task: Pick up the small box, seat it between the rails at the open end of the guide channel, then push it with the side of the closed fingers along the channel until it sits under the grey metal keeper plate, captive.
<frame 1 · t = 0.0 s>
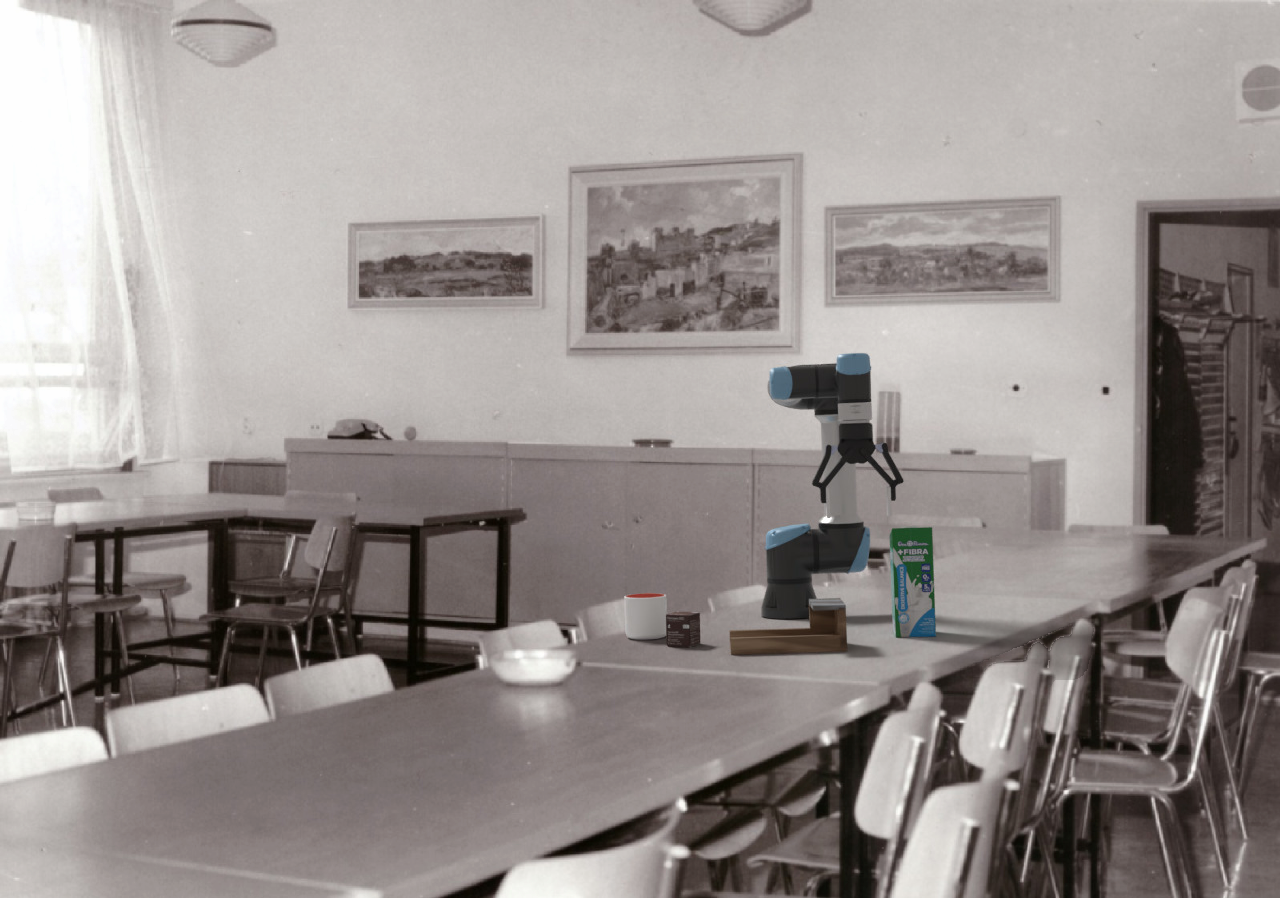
hand: (858, 517, 324), 28 cm above the table, fingers open, 13 cm apart
milk carton: (914, 635, 332), on the table
channel: (787, 648, 318), on the table
box: (683, 646, 329), on the table
cup: (646, 638, 343), on the table
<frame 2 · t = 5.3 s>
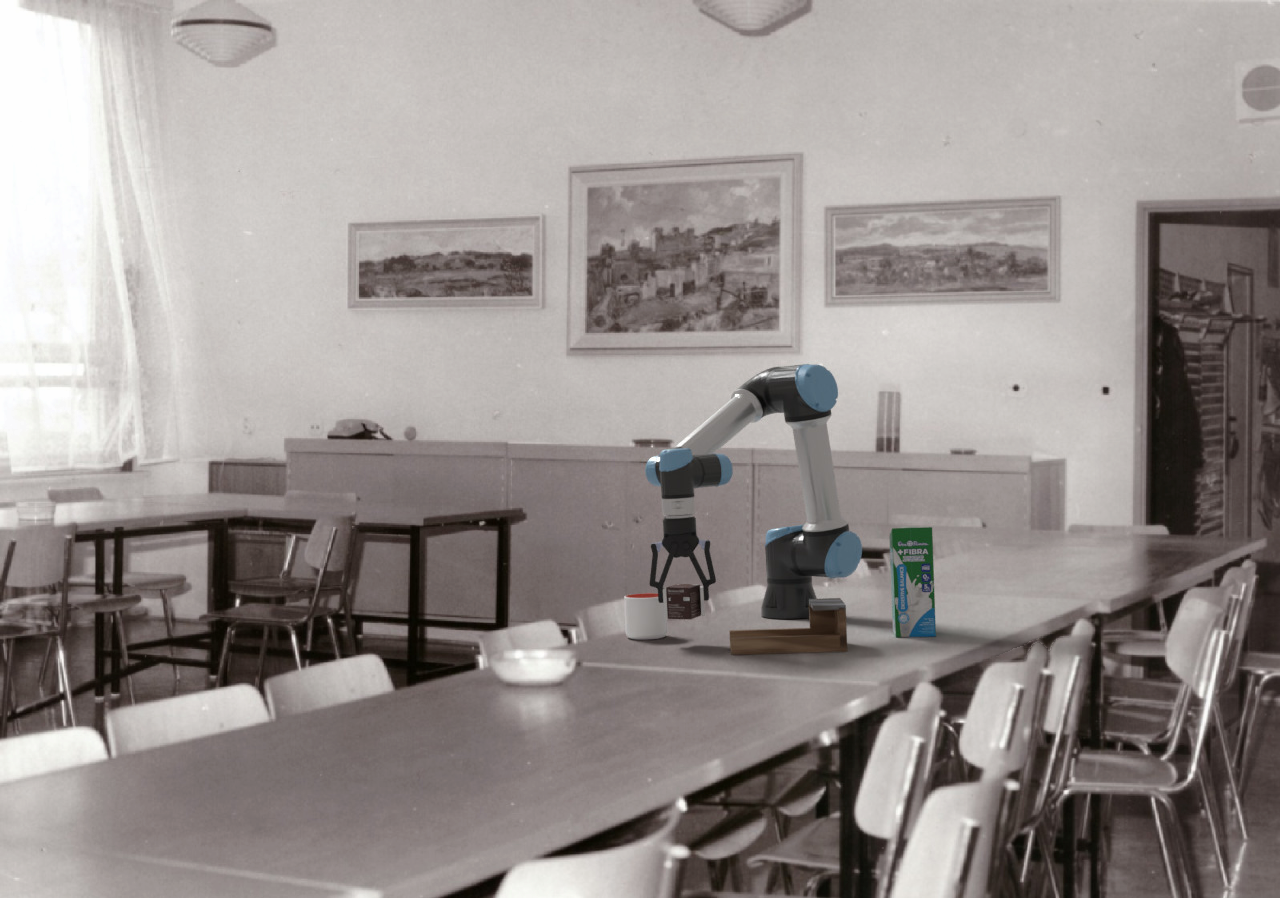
hand: (684, 615, 329), 7 cm above the table, fingers closed on box, 8 cm apart
box: (684, 618, 329), point 6 cm above the table, touching gripper
everything else where it was.
when the fingers open (2 cm above the table, at t = 8.8 s): box stays where it is, resting on channel.
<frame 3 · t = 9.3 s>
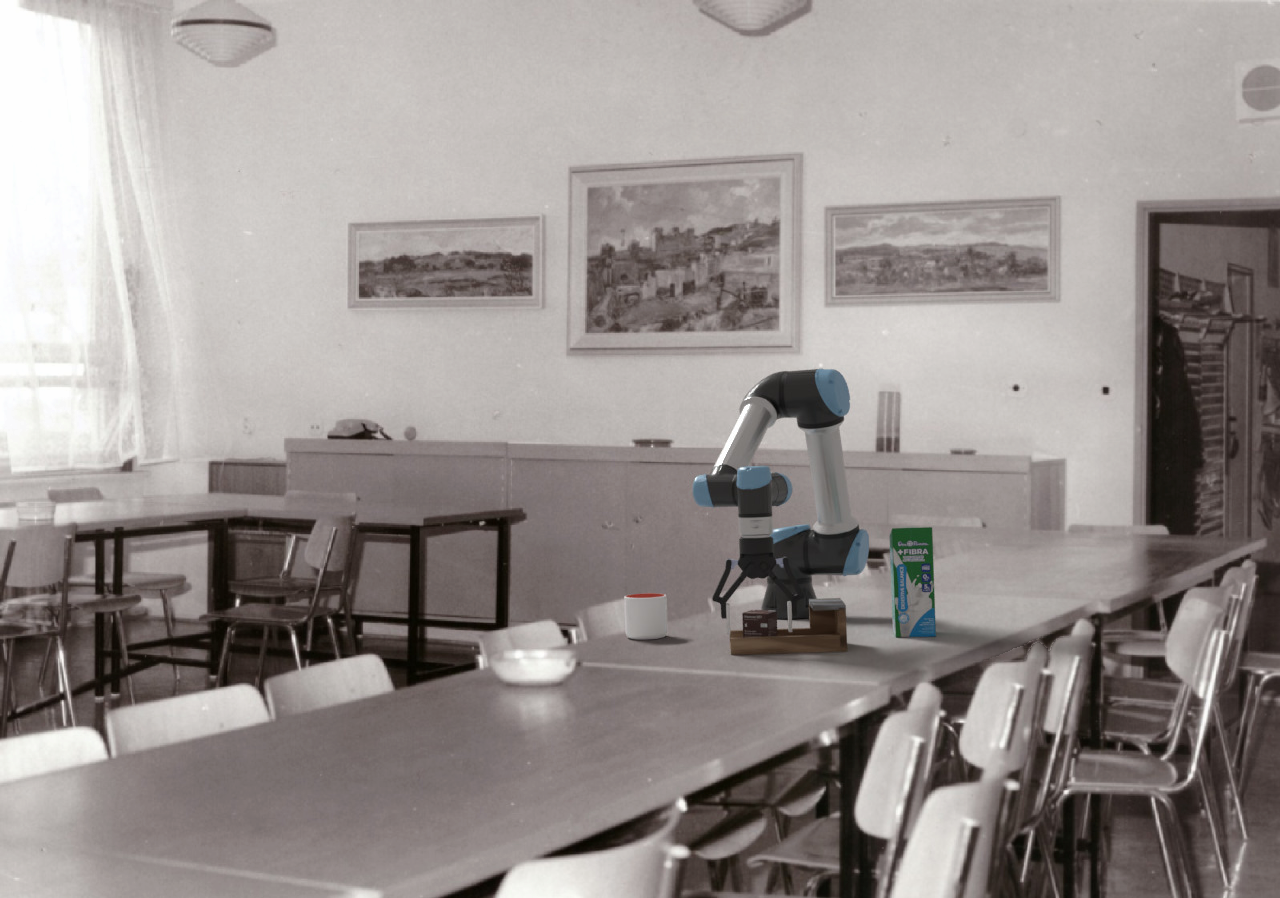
hand: (759, 632, 318), 4 cm above the table, fingers open, 13 cm apart
box: (760, 645, 318), point 1 cm above the table, touching channel
everything else where it was.
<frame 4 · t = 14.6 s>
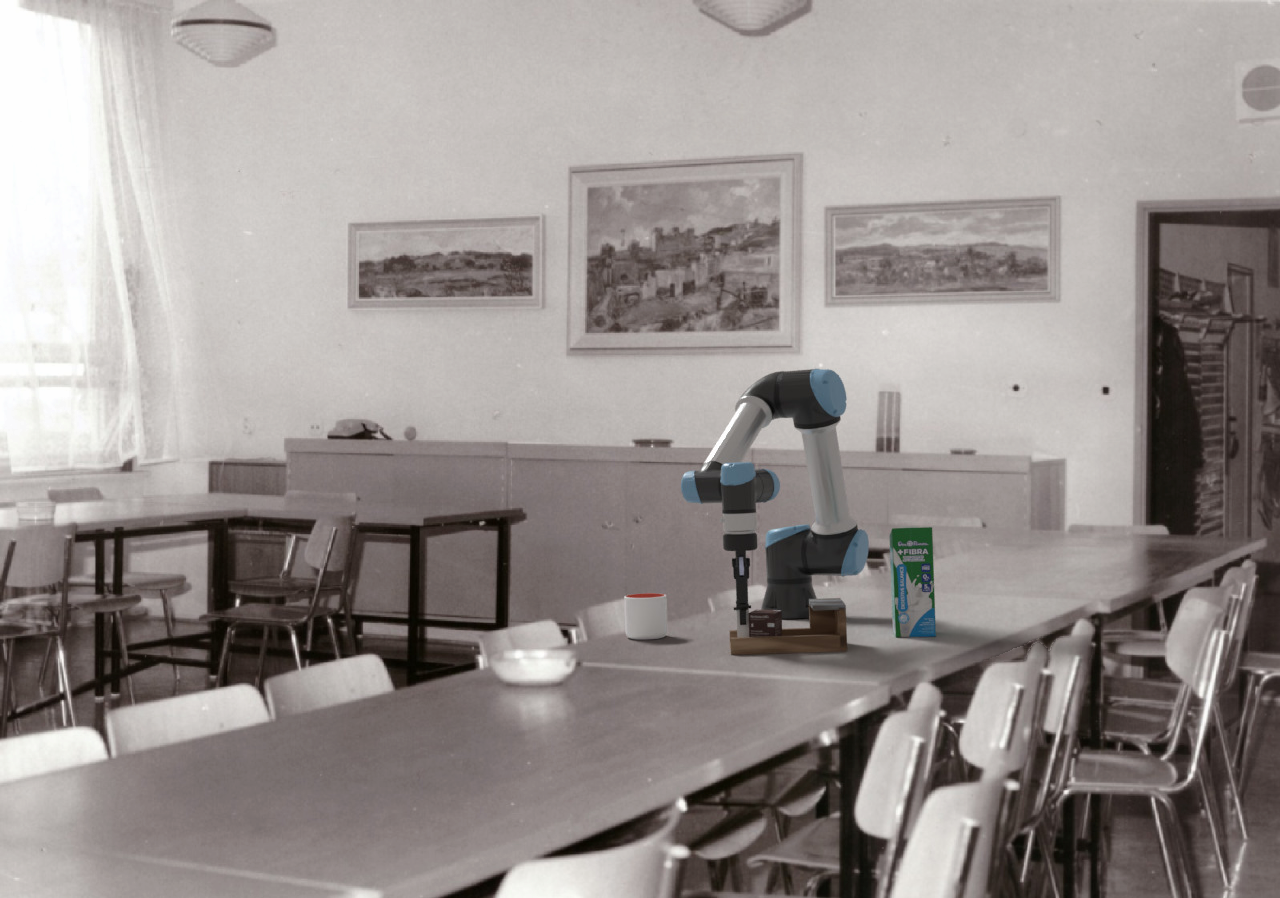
hand: (743, 638, 318), 2 cm above the table, fingers closed
box: (766, 645, 318), point 1 cm above the table, touching gripper
everything else where it was.
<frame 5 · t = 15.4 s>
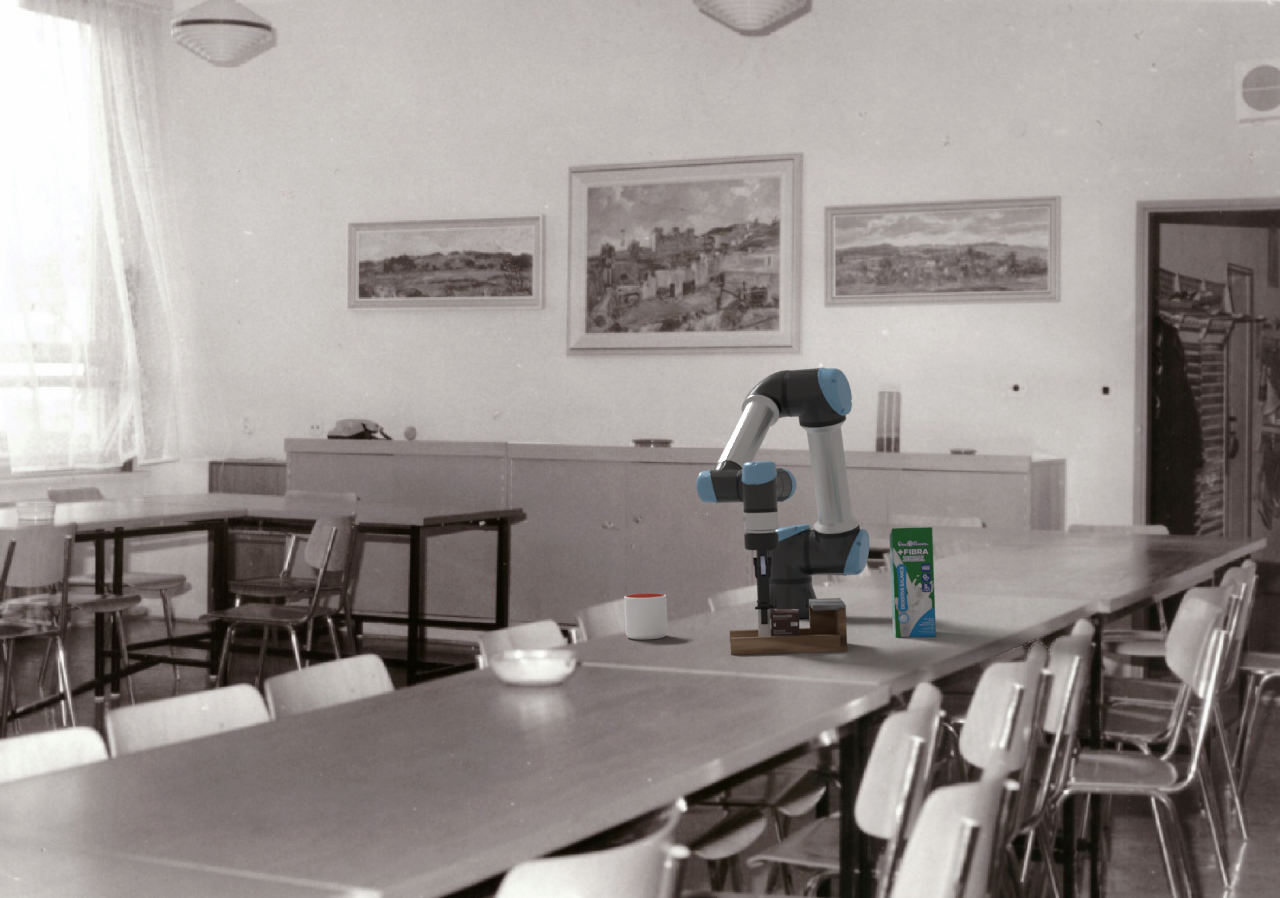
hand: (764, 638, 318), 2 cm above the table, fingers closed
box: (785, 644, 318), point 1 cm above the table, touching channel, gripper
everything else where it was.
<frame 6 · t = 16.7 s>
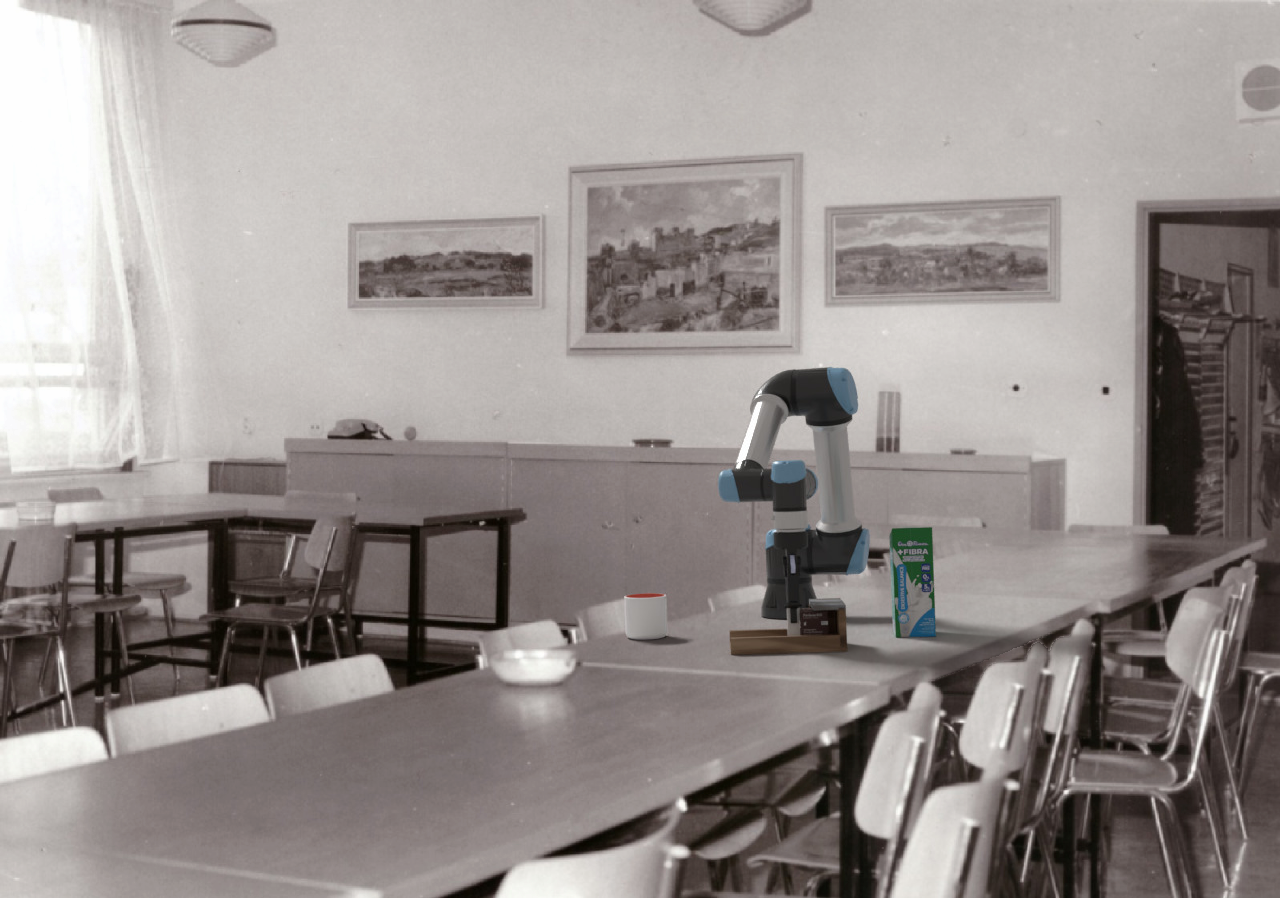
hand: (793, 637, 318), 2 cm above the table, fingers closed
box: (814, 643, 318), point 1 cm above the table, touching gripper
everything else where it was.
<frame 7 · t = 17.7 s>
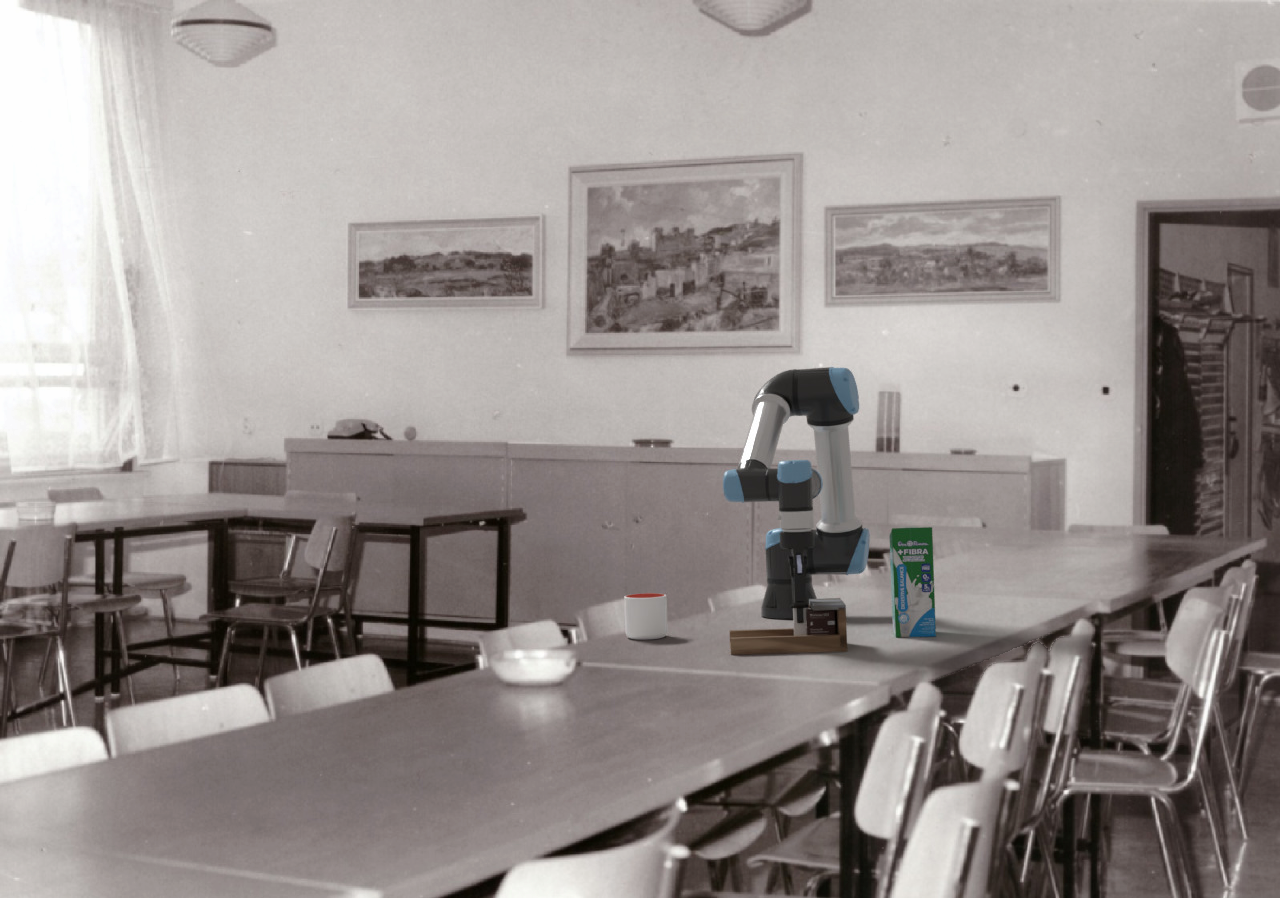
hand: (800, 637, 318), 2 cm above the table, fingers closed
box: (821, 643, 318), point 1 cm above the table, touching channel, gripper
everything else where it was.
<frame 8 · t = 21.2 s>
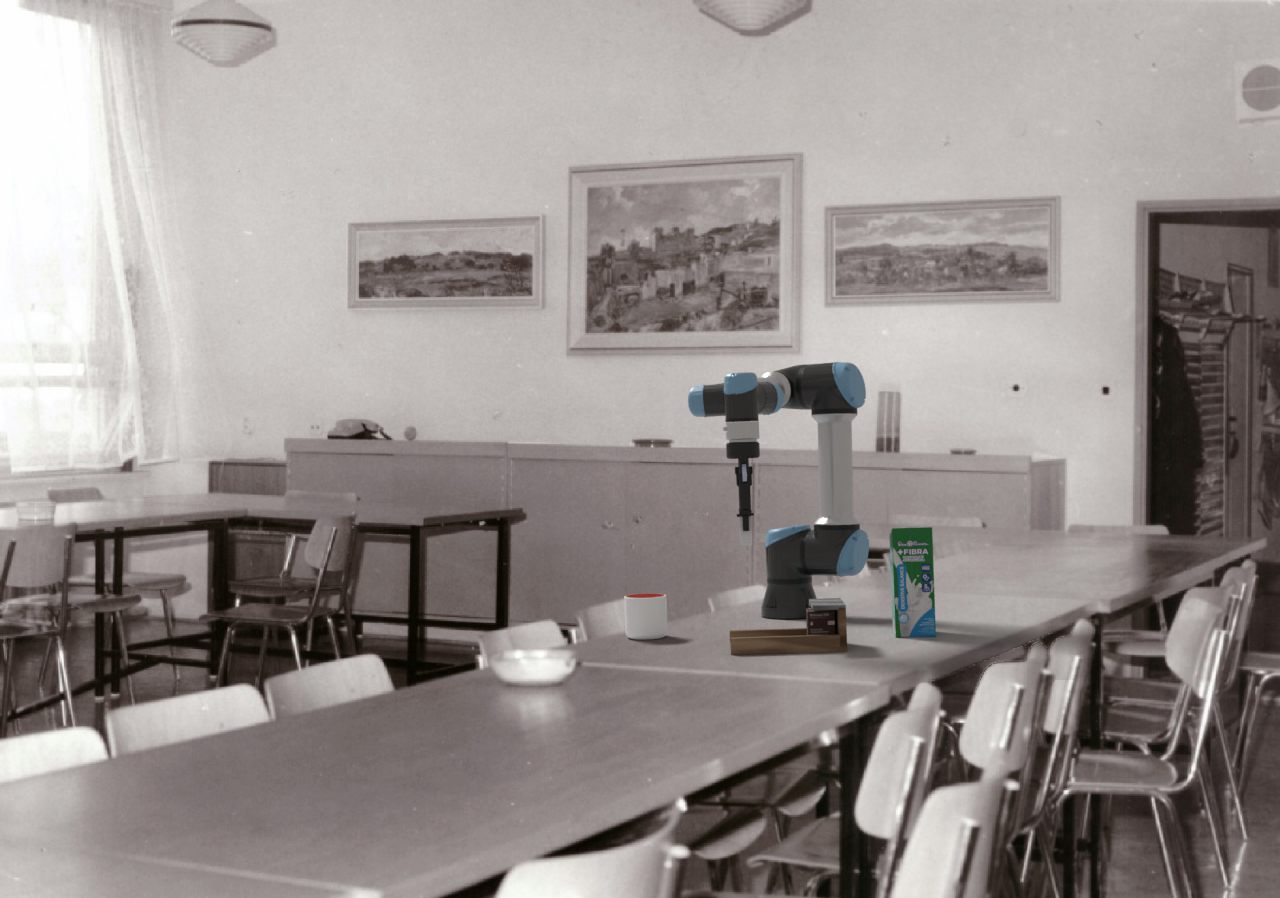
hand: (746, 545, 326), 22 cm above the table, fingers closed
box: (821, 643, 318), point 1 cm above the table, touching channel
everything else where it was.
at the end: box 0.6 cm from the target spot on the channel, point 0.8 cm above the channel's base; box tilted 0°; the gripper is holding nothing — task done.
